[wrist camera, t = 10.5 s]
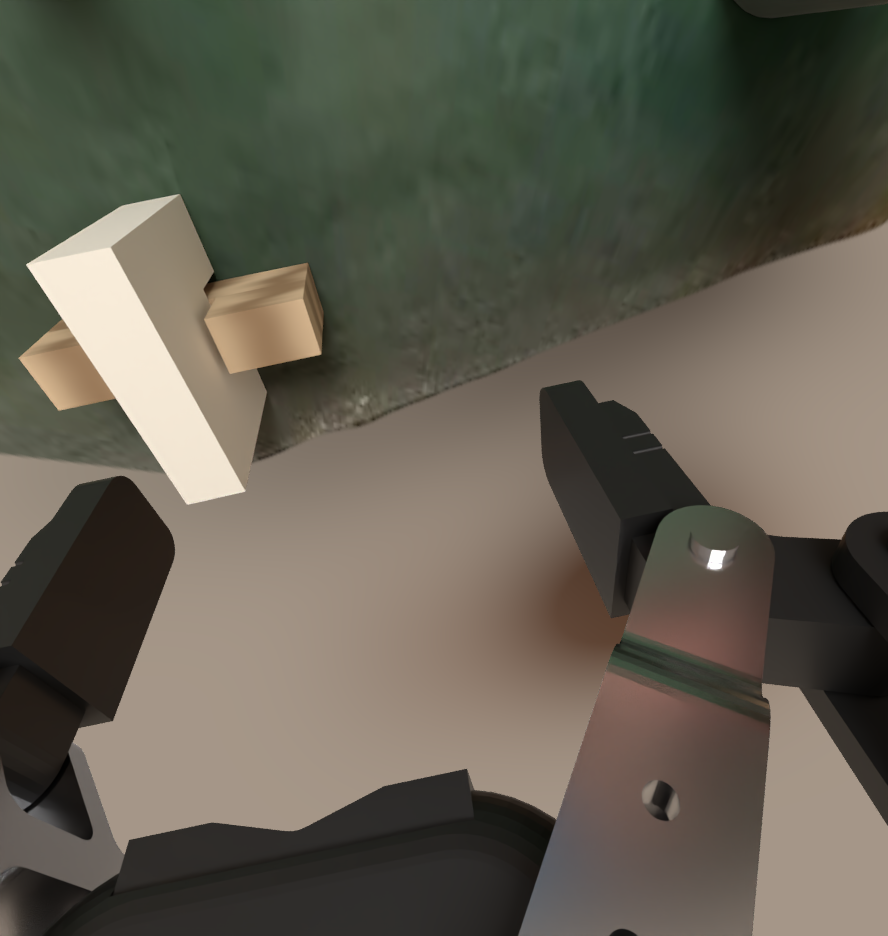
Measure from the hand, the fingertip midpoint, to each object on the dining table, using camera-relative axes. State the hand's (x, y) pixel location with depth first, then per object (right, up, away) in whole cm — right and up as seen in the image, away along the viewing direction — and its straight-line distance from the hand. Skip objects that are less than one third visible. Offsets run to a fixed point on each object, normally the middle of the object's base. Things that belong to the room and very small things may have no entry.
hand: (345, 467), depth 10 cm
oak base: (-15, +11, +25) cm, 31 cm away
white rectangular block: (-15, +11, +25) cm, 31 cm away
